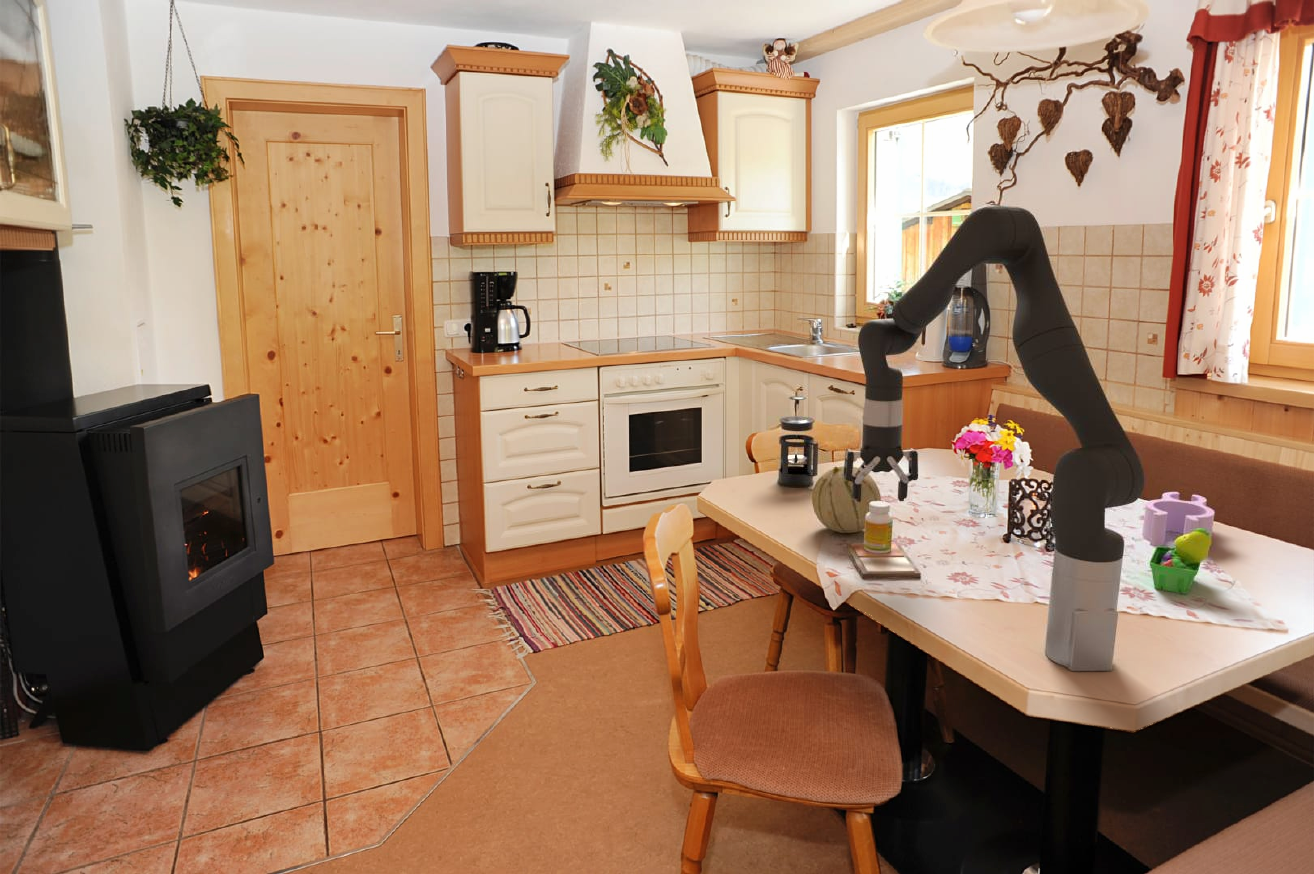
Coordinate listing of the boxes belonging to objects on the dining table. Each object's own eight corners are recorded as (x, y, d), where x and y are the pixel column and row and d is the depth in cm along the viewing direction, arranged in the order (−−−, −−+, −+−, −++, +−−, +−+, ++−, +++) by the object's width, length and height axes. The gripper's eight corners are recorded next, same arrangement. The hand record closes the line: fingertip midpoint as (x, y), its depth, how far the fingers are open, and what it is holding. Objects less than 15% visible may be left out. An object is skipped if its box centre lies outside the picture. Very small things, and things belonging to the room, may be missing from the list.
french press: (768, 482, 230) (769, 396, 225) (790, 475, 237) (792, 391, 231) (803, 491, 222) (805, 402, 217) (826, 483, 228) (828, 397, 223)
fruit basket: (1153, 569, 168) (1160, 514, 166) (1207, 579, 163) (1215, 522, 161) (1145, 589, 159) (1152, 530, 157) (1202, 600, 154) (1210, 540, 152)
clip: (1150, 518, 198) (1154, 488, 197) (1215, 528, 191) (1219, 497, 190) (1137, 543, 183) (1140, 512, 181) (1206, 555, 176) (1211, 522, 174)
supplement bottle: (891, 555, 174) (894, 508, 172) (864, 553, 175) (866, 507, 173) (890, 545, 179) (892, 500, 177) (863, 544, 180) (865, 499, 178)
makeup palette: (920, 577, 166) (921, 571, 166) (862, 578, 166) (862, 571, 166) (898, 548, 181) (899, 542, 181) (845, 548, 182) (845, 542, 181)
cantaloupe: (893, 533, 190) (897, 466, 187) (846, 547, 182) (849, 478, 179) (843, 516, 202) (845, 453, 199) (796, 528, 194) (798, 463, 191)
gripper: (850, 425, 168) (847, 506, 171) (924, 424, 168) (920, 505, 171) (842, 418, 175) (840, 495, 179) (913, 416, 175) (910, 494, 178)
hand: (879, 500), depth 175 cm, fingers open, 8 cm apart
